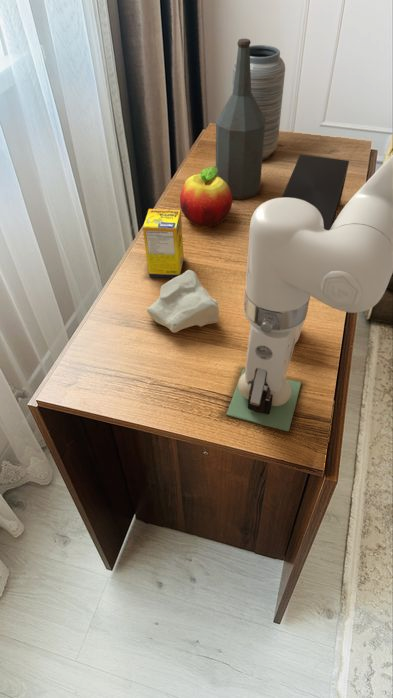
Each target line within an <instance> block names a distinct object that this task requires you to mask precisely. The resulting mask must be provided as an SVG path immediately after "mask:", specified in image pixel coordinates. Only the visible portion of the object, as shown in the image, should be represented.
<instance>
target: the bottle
mask: <svg viewBox="0 0 393 698" xmlns="http://www.w3.org/2000/svg"><path fill="white" fill-rule="evenodd" d="M249 46H251V40H250V39H249V38H240V39H238V40H237V53H236V60H237V61H236V60H235V61H236V70H235V78H234V86H233V93H232V92H231V94H230V96H229V97H228V100H227V101H226V103H225V104H224V106H223V108H222V110H221V111H220V113H219V114H218V117H217V119H216V121H215V166H216V168H217V169H218V172H217V174H216V175H217V176H219V177H220V178H221V179H223V180H224V181H225V182H226V183H227V185H228V186H229V188H230V191H231V195H232V200H245V199H249V198H253V197H255V196H256V195H257V194H258V192H259V191H260V188H261V187H260V186H261V181H262V168H263V160H262V157H263V144H264V131H265V117H264V115H263V113H262V112H261V110H260V108H259V106H258V104H257V102H256V100H255V98H254V96H253V95H252V93H251V73H250V48H249Z"/></svg>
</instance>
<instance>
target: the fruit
mask: <svg viewBox="0 0 393 698" xmlns="http://www.w3.org/2000/svg"><path fill="white" fill-rule="evenodd" d="M217 172H218V169H217V168H216V165H213V166H209V167H205V168H203V169H202V170H201V172H200V173H198V174H194V175H193V174H192V175H190V177H188V178H187V179H186V180H185V182H184V183H183V186H182V189H181V192H180V195H179V205H180V210H181V213H183V215H184V217H185V218H186V220H188V221H189V222H190V223H192V224H193V225H195V226H198V227H203V228H209V227H214V226H217V225H218V224H220V223H222V222H223V221H224V220H225V219H226V218H227V217H228V216H229V213H230V212H231V209H232V207H233V199H232V195H231V191H230V188H229V186H228V185H227V183H226V182H225V181H224V180H223V179H221V178H220V177H219V176H217V175H216V174H217Z"/></svg>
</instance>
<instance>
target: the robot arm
mask: <svg viewBox="0 0 393 698" xmlns="http://www.w3.org/2000/svg"><path fill="white" fill-rule="evenodd" d="M248 232H249V234H248V248H247V259H246V260H247V262H246V276H245V287H244V302H243V303H244V304H243V314H244V316H245V318H246V320H247V322H249V324H250V329H249V334H248V343H247V351H246V359H245V369H246V370H245V381H246V383H247V384H248V385H249V384H251V388H250V391H249V399H248V409H249V410H253V411H255V412H257V413H264V414H270V411H271V405H272V398H273V395H272V394H271V392H272V391H273V392H279V391H281V390H282V388H283V385H284V382H285V379H287V374H288V371H289V368H290V364H291V361H292V357H293V353H294V350H295V345H296V343H295V338H296V331H297V328H298V327H300V326H301V325H302V324H303V325H304V323H305V321H306V319H307V315H308V311H309V305H310V300H311V297H312V298H313V299H316V300H317V301H319V302H320V303H322V304H324V305H326V306H327V307H330V308H333V309H335V310H338V311H340V312H344V313H349V314H357V313H358V314H359V313H364V312H366V311H369V310H371V309H373V308H374V307H375V306H376V305H377V304H378V303H379V302H380V301H381V299H382V298H383V296H384V294H385V292H386V290H387V288H388V285H389V283H390V280H391V278H392V275H393V154H392V155H390V156H389V158H388V159H387V160H386V161H385V162H383V164H381V166H380V167H379V168H378V169H377V170H376V171H375V172H374V174H372V175H371V176H370V177H369V178H368V180H367V181H366V182H365V183H364V184H363V185H362V186H361V187H360V188H359V189H358V190H357V191H356V192H355V194H354V195H353V196H352V197H351V198H350V199H349V201H348V202H347V203H345V205H344V207H342V209H341V211H340V212H339V214H338V216H336V217H335V221H334V223H333V225H332V227H331V228H330V230H325V229H324V224H323V218H322V216H321V214H320V212H319V211H318V209H317V208H316V207H314V206H313V205H311V204H310V203H308V202H306V201H304V200H300V199H296V198H288V197H283V198H282V197H275V198H271V199H269V200H266V201H264V202H262V203H261V204H260V205H259V206H257V207H256V209H255V210H254V212H253V214H252V216H251V218H250V224H249V231H248ZM307 310H308V311H307ZM264 385H265V386H268V388H267V391H266V390H263V389H264Z"/></svg>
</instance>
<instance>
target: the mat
mask: <svg viewBox="0 0 393 698" xmlns="http://www.w3.org/2000/svg"><path fill="white" fill-rule="evenodd" d="M245 370H246V368H242V371H241V373H240V376H239V378H238V381H237V384H236V387H235V390H234V392H233V394H232V399H231V401H230V402H229V406H228V408H227V411H226V416H228V417H231V418H235V419H239V420H242V421H245V422H250V423H253V424H258V425H261V426H265V427H269V428H272V429H276V430H280V431H284V432H290V428H291V425H292V422H293V421H292V420H293V417H294V413H295V409H296V405H297V402H298V397H299V394H300V390H301V386H302V382H300V381H296V380H292V379H289V378H285V379H286V380H287V381H288V382H289V384H290V386H291V396H290V398H289V400H288V401H287V402H286V403H285V404H283V405H281V406H271V411H270V414H264V413H257V412H255V411H253V410H249V409H248V399H246V398H245V397H243V396H242V394H241V393H240V391H239V387H238V383H239V379H240V378H241V376H242V375H243V374H244V373H245Z"/></svg>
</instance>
